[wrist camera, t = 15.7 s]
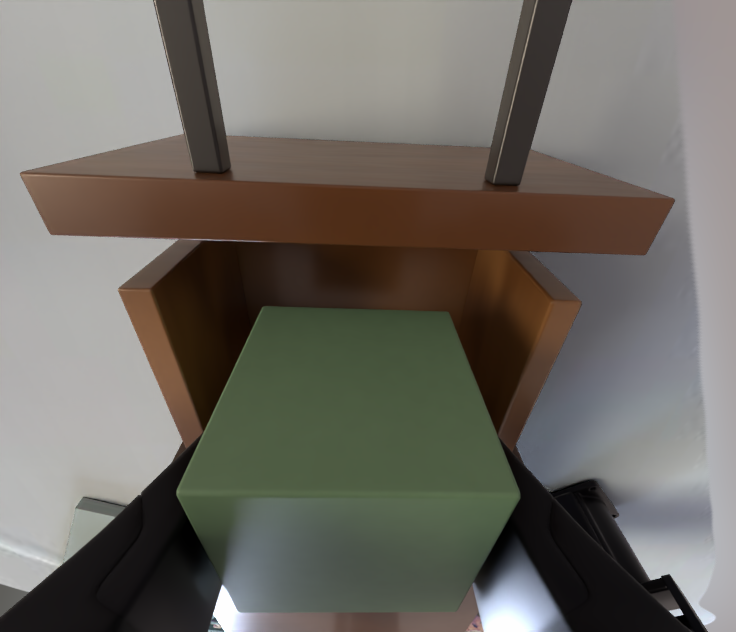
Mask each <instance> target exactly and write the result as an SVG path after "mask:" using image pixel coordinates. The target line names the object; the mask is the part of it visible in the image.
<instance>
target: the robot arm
mask: <svg viewBox="0 0 736 632" xmlns="http://www.w3.org/2000/svg"><path fill="white" fill-rule="evenodd" d="M203 433H204V432H203ZM203 433H202V434H201V435H200V436H199V437H198V438H197V439H196V440H195V441H194V442H193V443H192V444H191V445H190V446H189V447H187V448H186V449H185V450H184V451H183V452H182V453H181V454H180V455H179V456H178V457H177V458H176V459H175V460H174V461H173V462H172V463H171V464H170V465H169V466H168V467H167V468H166V469H165V470H164V471H163V472H162V473H161V474H160V475H159V476H158V477H157V478H156V479H155V480H154V481H153V482H152V483H151V484H150V485H149V486H147V487H146V488H145V489H144V490H143V491H142V493H141V495H138V496H137V497H136V498H135V499H134V500H133V501H132V502H131V503H130V504H129V505H128V506H127V507H126V508H125V509H124V510H123V511H122V512H120V513H119V514H118V515H117V516H116V517H115V518H114V519H113V520H112V521H111V522H110V523H109V524H108V525H107V526H106V527H105V528H103V529H102V530H101V531H100V532H99V533H98V534H97V535H96V536H95V537H93V538H92V539H91V540H90V541H89V542H88V543H87V544H85V545H84V546H83V547H82V548H81V549H80V550H79V551H77V552H76V553H75V554H74V555H73V556H72V557H71V558H69V559H68V560H67V561H66V562H65V563H63V564H62V565H61V566H60V567H59V568H58V569H56V570H55V571H54V572H53V573H52V574H50V575H49V576H48V577H47V578H46V579H45V580H43V581H42V582H41V583H40V584H39V585H37V586H36V587H35V588H34V589H33V590H32V591H30V592H29V593H28V594H27V595H26V596H24V597H23V598H22V599H21V600H20V601H19V602H17V603H16V604H15V605H14V606H13V607H12V608H10V609H9V610H8V611H7V612H6V613H4V614H3V615H2V616H1V617H0V632H208V630H209V626H210V623H211V620H212V616H213V613H214V610H215V607H216V603H217V600H218V597H219V593H220V590H221V587H222V583H221V581H220V579H219V577H218V575H217V573H216V571H215V569H214V567H213V565H212V563H211V561H210V559H209V557H208V556H207V554H206V552H205V550H204V548H203V546H202V544H201V542H200V540H199V538H198V536H197V534H196V532H195V530H194V528H193V526H192V524H191V523H190V521H189V519H188V517H187V515H186V513H185V511H184V509H183V507H182V505H181V503H180V501H179V499H178V497H177V495H176V494H177V488H178V486H179V484H180V482H181V480H182V478H183V475H184V473H185V471H186V469H187V467H188V465H189V463H190V460H191V458H192V456H193V454H194V452H195V450H196V448H197V446H198V443H199V441H200V439H201V437H202V435H203ZM498 438H499V437H498ZM499 440H500V443H501V445H502V448H503V450H504V453H505V456H506V458H507V461H508V463H509V466H510V468H511V471H512V473H513V476H514V478H515V481H516V483H517V486H518V488H519V491H520V500H519V502H518V504H517V505H516V507H515V509H514V511H513V512H512V514H511V516H510V518H509V520H508V521H507V523H506V525H505V527H504V528H503V530H502V532H501V534H500V536H499V537H498V539H497V541H496V543H495V544H494V546H493V548H492V550H491V552H490V553H489V555H488V557H487V559H486V560H485V562H484V564H483V566H482V567H481V569H480V571H479V573H478V575H477V576H476V578H475V580H474V582H473V583H472V585H473V590H474V594H475V598H476V602H477V606H478V610H479V614H480V618H481V623H482V627H483V631H484V632H708V631H707V630H706V628H705V627H704V625H703V624H702V622H701V620H700V619H699V617H698V616H697V614H696V613H695V611H694V610H693V608H692V606H691V605H690V603H689V602H688V600H687V599H686V597H685V596H684V594H683V593H682V591H681V590H680V588H679V587H678V586H677V584H676V583H675V581H674V580H673V579H672V577H671V576H670V574H668V575H664V576H661V578H659V579H655V580H651V581H650V579H649V577H648V575H647V574H646V572H645V570H644V569H643V567H642V565H641V564H640V562H639V560H638V559H637V557H636V555H635V553H634V552H633V550H632V548H631V547H630V545H629V543H628V542H627V540H626V538H625V537H624V535H623V533H622V531H621V530H620V528H619V526H618V525H617V523H616V521H615V520H614V518H617V517H618V516H619V514H618V512H617V510H616V509H615V507H614V506H613V505H612V503H611V502H610V500H609V499H608V497H607V496H606V495H605V493H604V492H603V490H602V489H601V487H600V486H599V485H598V483H597V482H596V481H593V480H592V481H587V482H584V483H581V484H578V485H576V486H573V487H570V488H567V489H564V490H561V491H558V492H555V493H552V494H550V493H549V492H548V491H547V489H546V488H545V487H544V486H543V485H542V484H541V483H540V482H539V481H538V480H537V479H536V477H535V476H534V475H533V474H532V473H531V472H530V471H529V470H528V469H527V468H526V466H525V465H524V464H523V463H522V462H521V461H520V460H519V459H518V458H517V457H516V456H515V454H514V453H513V452H512V451H511V450H510V449H509V448H508V447H507V446H506V445H505V443H504V442H503V441H502V440H501V439H500V438H499ZM679 608H680V609H681V611H682V612H683V614H684V615H681V616H676V617H674V616H673V615H672V614H671V613H670V612H669V610H674V609H679Z"/></svg>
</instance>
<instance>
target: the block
mask: <svg viewBox="0 0 736 632" xmlns="http://www.w3.org/2000/svg"><path fill="white" fill-rule="evenodd" d="M176 495H177V497H178V499H179V501H180V503H181V505H182V507H183V509H184V511H185V513H186V515H187V517H188V519H189V521H190V523H191V524H192V526H193V528H194V530H195V532H196V534H197V536H198V538H199V540H200V542H201V544H202V546H203V548H204V550H205V552H206V554H207V556H208V557H209V559H210V561H211V563H212V565H213V567H214V569H215V571H216V573H217V575H218V577H219V579H220V581H221V583H222V585H223V587H224V588H225V590H226V592H227V594H228V596H229V598H230V600H231V602H232V604H233V606H234V608H235V610H236V611H237V612H238V613H345V612H456V611H457V610H458V608H459V607H460V605H461V603H462V601H463V599H464V598H465V596H466V594H467V592H468V591H469V589H470V587H471V585H472V583H473V582H474V580H475V578H476V576H477V575H478V573H479V571H480V569H481V567H482V566H483V564H484V562H485V560H486V559H487V557H488V555H489V553H490V552H491V550H492V548H493V546H494V544H495V543H496V541H497V539H498V537H499V536H500V534H501V532H502V530H503V528H504V527H505V525H506V523H507V521H508V520H509V518H510V516H511V514H512V512H513V511H514V509H515V507H516V505H517V504H518V502H519V500H520V491H519V488H518V486H517V483H516V481H515V478H514V476H513V473H512V471H511V468H510V466H509V463H508V461H507V458H506V456H505V453H504V450H503V448H502V445H501V443H500V440H499V438H498V435H497V433H496V430H495V428H494V425H493V423H492V420H491V418H490V415H489V413H488V410H487V407H486V405H485V402H484V400H483V397H482V395H481V392H480V390H479V387H478V385H477V382H476V380H475V377H474V375H473V372H472V370H471V367H470V364H469V362H468V359H467V357H466V354H465V352H464V349H463V347H462V344H461V342H460V339H459V337H458V334H457V332H456V329H455V327H454V324H453V321H452V319H451V316H450V314H449V312H446V311H414V310H380V309H346V308H312V307H278V306H264V307H262V309H261V311H260V313H259V315H258V318H257V320H256V322H255V324H254V326H253V328H252V330H251V332H250V335H249V337H248V339H247V341H246V343H245V345H244V347H243V350H242V352H241V354H240V356H239V358H238V360H237V362H236V364H235V367H234V369H233V371H232V373H231V375H230V377H229V379H228V382H227V384H226V386H225V388H224V390H223V392H222V394H221V396H220V399H219V401H218V403H217V405H216V407H215V409H214V411H213V414H212V416H211V418H210V420H209V422H208V424H207V426H206V428H205V431H204V433H203V435H202V437H201V439H200V441H199V443H198V446H197V448H196V450H195V452H194V454H193V456H192V458H191V460H190V463H189V465H188V467H187V469H186V471H185V473H184V475H183V478H182V480H181V482H180V484H179V486H178V488H177V494H176Z"/></svg>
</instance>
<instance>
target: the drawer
mask: <svg viewBox="0 0 736 632" xmlns="http://www.w3.org/2000/svg"><path fill="white" fill-rule="evenodd" d="M153 2H154V6H155V10H156V14H157V19H158V23H159V27H160V32H161V36H162V40H163V44H164V49H165V53H166V57H167V62H168V66H169V70H170V75H171V79H172V83H173V87H174V92H175V96H176V100H177V105H178V109H179V113H180V117H181V122H182V126H183V130H184V134H181V135H177V136H173V137H168V138H164V139H160V140H156V141H151V142H147V143H143V144H138V145H134V146H130V147H126V148H121V149H117V150H113V151H108V152H104V153H100V154H96V155H91V156H87V157H83V158H79V159H74V160H70V161H66V162H61V163H57V164H53V165H49V166H44V167H40V168H36V169H32V170H27V171H23V172H21V173H20V176H21V178H22V180H23V182H24V184H25V186H26V188H27V189H28V191H29V193H30V195H31V197H32V199H33V201H34V203H35V205H36V207H37V209H38V211H39V213H40V215H41V217H42V219H43V221H44V223H45V225H46V227H47V229H48V231H49V233H50V234H51V235H68V236H97V237H126V238H155V239H179V240H178V241H176V242H175V243H174V244H173V245H171V246H170V247H169V248H168V249H166V250H165V251H164V252H163V253H161V254H160V255H159V256H158V257H156V258H155V259H154V260H153V261H152V262H150V263H149V264H148V265H147V266H145V267H144V268H143V269H142V270H140V271H139V272H138V273H137V274H135V275H134V276H133V277H132V278H130V279H129V280H128V281H127V282H125V283H124V284H123V285H122V286H120V287H119V288H118V292H119V294H120V296H121V299H122V301H123V303H124V306H125V308H126V310H127V313H128V315H129V317H130V319H131V322H132V324H133V326H134V329H135V331H136V333H137V336H138V338H139V340H140V343H141V345H142V347H143V350H144V352H145V354H146V357H147V359H148V361H149V364H150V366H151V368H152V371H153V373H154V375H155V378H156V380H157V382H158V385H159V387H160V389H161V392H162V394H163V396H164V399H165V401H166V403H167V405H168V408H169V410H170V412H171V415H172V417H173V419H174V422H175V424H176V426H177V429H178V431H179V433H180V436H181V438H182V440H183V443H184V445H185V447H186V448H187V447H189V446H190V445H191V444H192V443H193V442H194V441H195V440H196V439H197V438H198V437H199V436H200V435H201V434H202V433H203V432H204V431H205V428H206V426H207V424H208V422H209V420H210V418H211V416H212V414H213V411H214V409H215V407H216V405H217V403H218V401H219V399H220V396H221V394H222V392H223V390H224V388H225V386H226V384H227V382H228V379H229V377H230V375H231V373H232V371H233V369H234V367H235V364H236V362H237V360H238V358H239V356H240V354H241V352H242V350H243V347H244V345H245V343H246V341H247V339H248V337H249V335H250V332H251V330H252V328H253V326H254V324H255V322H256V320H257V318H258V315H259V313H260V311H261V309H262V307H264V306H278V307H312V308H346V309H380V310H414V311H446V312H449V314H450V316H451V319H452V321H453V324H454V327H455V329H456V332H457V334H458V337H459V339H460V342H461V344H462V347H463V349H464V352H465V354H466V357H467V359H468V362H469V364H470V367H471V370H472V372H473V375H474V377H475V380H476V382H477V385H478V387H479V390H480V392H481V395H482V397H483V400H484V402H485V405H486V407H487V410H488V413H489V415H490V418H491V420H492V423H493V425H494V428H495V430H496V433H497V435H498V437H499V438H500V439H501V440H502V441H503V442H504V443H505V445H506V446H507V447H508V448H509V449H510V450H511V451H512V452H513V450H514V447H515V445H516V443H517V441H518V439H519V437H520V435H521V433H522V430H523V428H524V426H525V424H526V422H527V420H528V418H529V416H530V413H531V411H532V409H533V407H534V405H535V403H536V401H537V399H538V396H539V394H540V392H541V390H542V388H543V386H544V384H545V382H546V379H547V377H548V375H549V373H550V371H551V369H552V367H553V365H554V362H555V360H556V358H557V356H558V354H559V352H560V350H561V348H562V345H563V343H564V341H565V339H566V337H567V335H568V333H569V331H570V328H571V326H572V324H573V322H574V320H575V318H576V316H577V314H578V312H579V309H580V307H581V305H582V302H581V300H580V299H578V298H577V297H576V296H575V295H574V294H573V293H572V292H571V291H570V290H569V289H568V288H567V287H566V286H565V285H564V284H563V283H562V282H561V281H560V280H559V279H557V278H556V277H555V276H554V275H553V274H552V273H551V272H550V271H549V270H548V269H547V268H546V267H545V266H544V265H543V264H542V263H541V262H540V261H539V260H538V259H536V258H535V257H534V256H533V255H532V254H531V253H530V252H529V251H534V252H563V253H592V254H621V255H646V254H647V252H648V250H649V248H650V246H651V244H652V242H653V241H654V239H655V237H656V235H657V233H658V231H659V230H660V228H661V226H662V224H663V222H664V220H665V219H666V217H667V215H668V213H669V211H670V209H671V208H672V206H673V204H674V202H675V199H673V198H671V197H668V196H665V195H662V194H659V193H656V192H653V191H650V190H647V189H644V188H641V187H638V186H635V185H633V184H630V183H627V182H624V181H621V180H618V179H615V178H612V177H609V176H606V175H603V174H600V173H597V172H594V171H591V170H589V169H586V168H583V167H580V166H577V165H574V164H571V163H568V162H565V161H562V160H559V159H556V158H553V157H550V156H547V155H545V154H542V153H539V152H536V151H533V150H530V148H531V144H532V141H533V137H534V134H535V130H536V127H537V123H538V120H539V116H540V113H541V109H542V105H543V102H544V98H545V95H546V91H547V88H548V84H549V81H550V77H551V74H552V70H553V67H554V63H555V59H556V56H557V52H558V49H559V45H560V42H561V38H562V35H563V31H564V28H565V24H566V21H567V17H568V13H569V10H570V6H571V3H572V0H524V2H523V6H522V11H521V15H520V20H519V24H518V29H517V33H516V38H515V42H514V47H513V51H512V56H511V60H510V64H509V69H508V73H507V78H506V82H505V87H504V91H503V96H502V100H501V105H500V109H499V114H498V118H497V123H496V127H495V132H494V136H493V141H492V145H491V148H486V147H464V146H442V145H421V144H399V143H377V142H355V141H333V140H311V139H289V138H267V137H246V136H226V133H225V127H224V121H223V115H222V109H221V104H220V98H219V92H218V86H217V80H216V75H215V69H214V63H213V57H212V51H211V46H210V40H209V34H208V28H207V22H206V17H205V11H204V5H203V0H153Z"/></svg>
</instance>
